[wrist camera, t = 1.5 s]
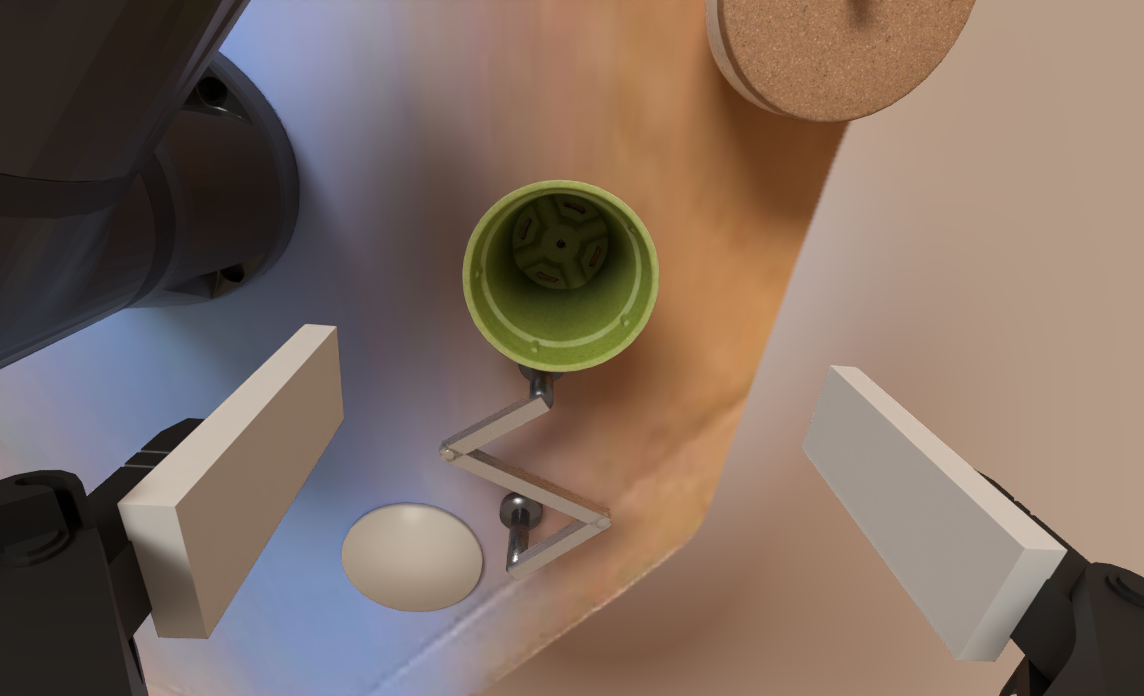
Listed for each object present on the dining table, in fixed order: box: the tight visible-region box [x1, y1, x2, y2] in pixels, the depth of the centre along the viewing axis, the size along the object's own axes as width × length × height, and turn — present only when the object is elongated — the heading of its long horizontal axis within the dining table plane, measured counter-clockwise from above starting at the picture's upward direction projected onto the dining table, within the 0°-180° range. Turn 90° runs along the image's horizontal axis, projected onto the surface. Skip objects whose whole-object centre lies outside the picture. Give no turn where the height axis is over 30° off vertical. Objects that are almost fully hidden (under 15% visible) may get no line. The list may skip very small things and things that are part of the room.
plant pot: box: [462, 180, 659, 372], centre depth 30 cm, size 9×9×9 cm
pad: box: [341, 503, 483, 612], centre depth 43 cm, size 11×11×1 cm
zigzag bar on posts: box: [439, 363, 612, 581], centre depth 36 cm, size 11×16×7 cm
